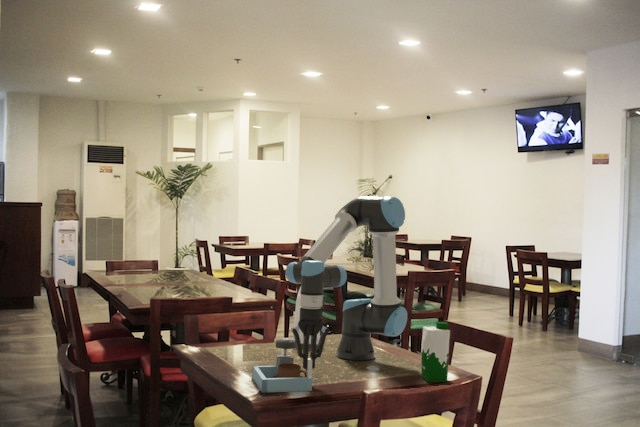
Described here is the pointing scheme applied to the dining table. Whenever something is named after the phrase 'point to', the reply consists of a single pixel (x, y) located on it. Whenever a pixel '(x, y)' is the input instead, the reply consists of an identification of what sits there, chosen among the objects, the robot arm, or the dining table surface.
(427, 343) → the milk carton
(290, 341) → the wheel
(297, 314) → the milk
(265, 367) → the light blue tray
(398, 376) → the dining table surface
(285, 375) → the cup and saucer
